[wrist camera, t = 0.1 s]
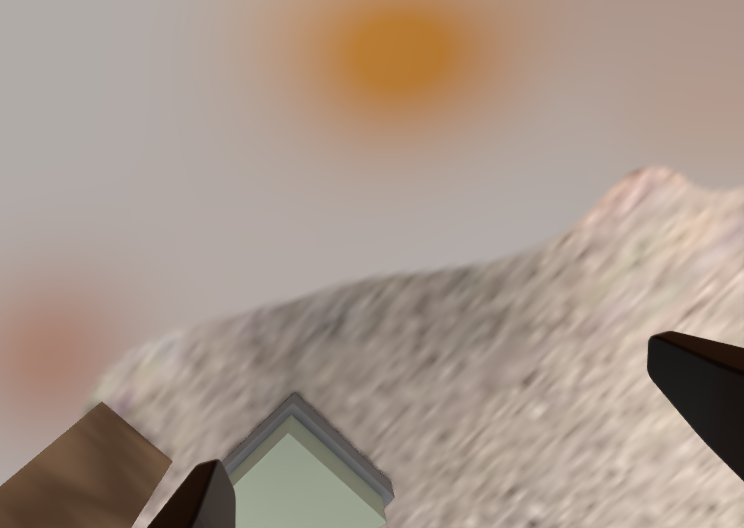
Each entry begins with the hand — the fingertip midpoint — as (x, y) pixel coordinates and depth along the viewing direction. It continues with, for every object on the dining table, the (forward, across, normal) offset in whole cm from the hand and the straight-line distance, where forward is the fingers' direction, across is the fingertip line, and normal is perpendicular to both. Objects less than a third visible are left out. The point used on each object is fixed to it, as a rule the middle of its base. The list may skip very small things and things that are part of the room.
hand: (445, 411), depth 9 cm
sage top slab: (+11, +7, +13) cm, 19 cm away
